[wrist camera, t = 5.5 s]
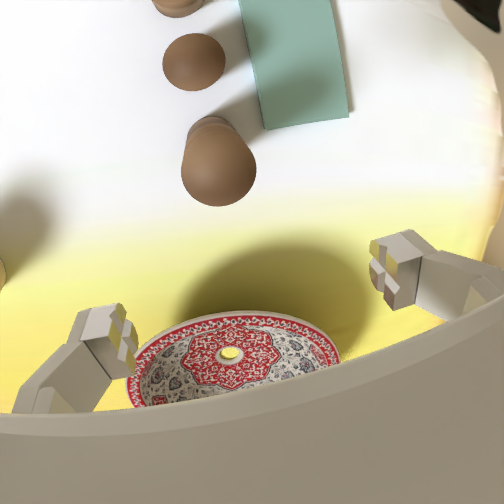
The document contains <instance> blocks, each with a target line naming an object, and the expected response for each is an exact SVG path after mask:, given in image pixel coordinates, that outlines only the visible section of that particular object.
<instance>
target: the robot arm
mask: <svg viewBox="0 0 504 504" xmlns="http://www.w3.org/2000/svg"><path fill="white" fill-rule="evenodd" d="M370 253H371V254H372V256H373V258H372V260H371V262H370V263H369V273H370V277H371V281H372V283H373V285H374V286H375V288H376V289H377V290H378V291H381V292H383V293H384V300H385V301H386V302H387V304H388V305H389V306H390V308H391V309H392V310H393V311H395V310H398V309H401V308H404V307H407V306H410V305H413V304H415V305H416V306H418V307H420V308H422V309H424V310H426V311H428V312H430V313H432V314H433V315H435V316H437V317H439V318H441V319H443V320H445V321H447V322H446V323H444V324H442V325H439V326H437V327H435V328H433V329H430V330H428V331H426V332H423V333H421V334H419V335H416V336H414V337H411V338H409V339H406V340H404V341H401V342H399V343H396V344H393V345H391V346H388V347H385V348H383V349H380V350H377V351H374V352H372V353H369V354H366V355H363V356H360V357H357V358H354V359H351V360H348V361H345V362H342V363H339V364H336V365H333V366H329V367H326V368H323V369H319V370H316V371H313V372H309V373H306V374H302V375H299V376H295V377H292V378H288V379H284V380H280V381H277V382H273V383H269V384H265V385H260V386H256V387H252V388H248V389H243V390H239V391H234V392H230V393H225V394H220V395H215V396H210V397H204V398H199V399H193V400H187V401H181V402H175V403H168V404H162V405H154V406H147V407H139V408H130V409H120V410H110V411H97V412H92V411H93V410H94V408H95V407H96V405H97V403H98V402H99V400H100V399H101V397H102V396H103V394H104V393H105V391H106V390H107V388H108V387H109V385H110V384H111V382H112V380H115V379H120V378H126V377H132V376H135V368H136V361H137V360H136V359H135V357H134V356H133V355H134V354H135V353H136V352H137V351H138V344H139V342H138V335H137V332H136V329H135V327H134V325H133V323H132V322H130V321H129V320H127V319H125V318H126V313H127V312H126V310H125V309H124V307H123V305H122V304H120V303H114V304H110V305H105V306H100V307H95V308H90V309H85V310H81V311H79V312H78V314H77V317H76V319H75V322H74V324H73V327H72V330H71V332H70V335H69V338H68V340H67V343H66V344H63V345H62V346H61V347H60V348H59V349H58V350H57V351H56V352H55V353H54V354H53V355H52V356H51V357H50V358H49V359H48V360H47V361H46V362H45V363H44V364H43V365H42V366H41V367H40V368H39V369H38V370H37V371H36V372H35V373H34V374H33V375H32V376H31V377H30V378H29V379H28V380H27V381H26V382H25V383H24V384H23V385H22V386H21V387H20V389H19V392H18V395H17V398H16V401H15V404H14V407H13V410H12V413H11V414H10V413H0V504H504V270H502V269H501V268H499V267H496V266H493V265H490V264H486V263H483V262H480V261H477V260H473V259H470V258H467V257H463V256H460V255H457V254H453V253H450V252H446V251H443V250H441V251H437V250H436V249H435V248H434V247H433V246H431V245H430V244H429V243H428V242H427V241H426V240H424V239H423V238H422V237H421V236H420V235H418V234H417V233H416V232H415V231H414V230H411V229H408V230H405V231H402V232H398V233H396V234H393V235H389V236H386V237H382V238H379V239H375V240H372V241H371V243H370Z"/></svg>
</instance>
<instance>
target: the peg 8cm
mask: <svg viewBox="0 0 504 504" xmlns="http://www.w3.org/2000/svg"><path fill="white" fill-rule="evenodd" d="M152 1H153V3H154V5H155V7H156V8H157V10H158V11H159V12H160V13H162V14H163V15H165V16H168V17H172V18H181V17H185V16H188V15H190V14H192V13H194V12H195V11H197V10H198V9H199V8H200V7H201V5H202V3H203V1H204V0H152Z"/></svg>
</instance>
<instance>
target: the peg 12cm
mask: <svg viewBox="0 0 504 504" xmlns="http://www.w3.org/2000/svg"><path fill="white" fill-rule="evenodd" d="M181 177H182V181H183V184H184V186H185V188H186V190H187V191H188V193H189V194H190V195H191V196H192V197H193V198H194V199H196V200H197V201H199V202H201V203H203V204H206V205H209V206H226V205H230V204H232V203H235V202H237V201H238V200H240V199H241V198H243V197H244V196H245V195H246V194H247V193H248V192H249V190H250V189H251V187H252V185H253V183H254V181H255V177H256V162H255V158H254V156H253V154H252V152H251V150H250V149H249V148H248V146H247V145H246V144H245V142H244V141H243V140H242V139H241V137H240V136H239V135H238V133H237V132H236V131H235V129H234V128H233V127H232V126H231V124H230V123H229V122H227V121H226V120H224V119H222V118H220V117H214V116H211V117H205V118H202V119H200V120H198V121H197V122H196V123H195V124H194V125H193V126H192V127H191V129H190V130H189V133H188V136H187V141H186V146H185V151H184V156H183V161H182V167H181Z"/></svg>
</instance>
